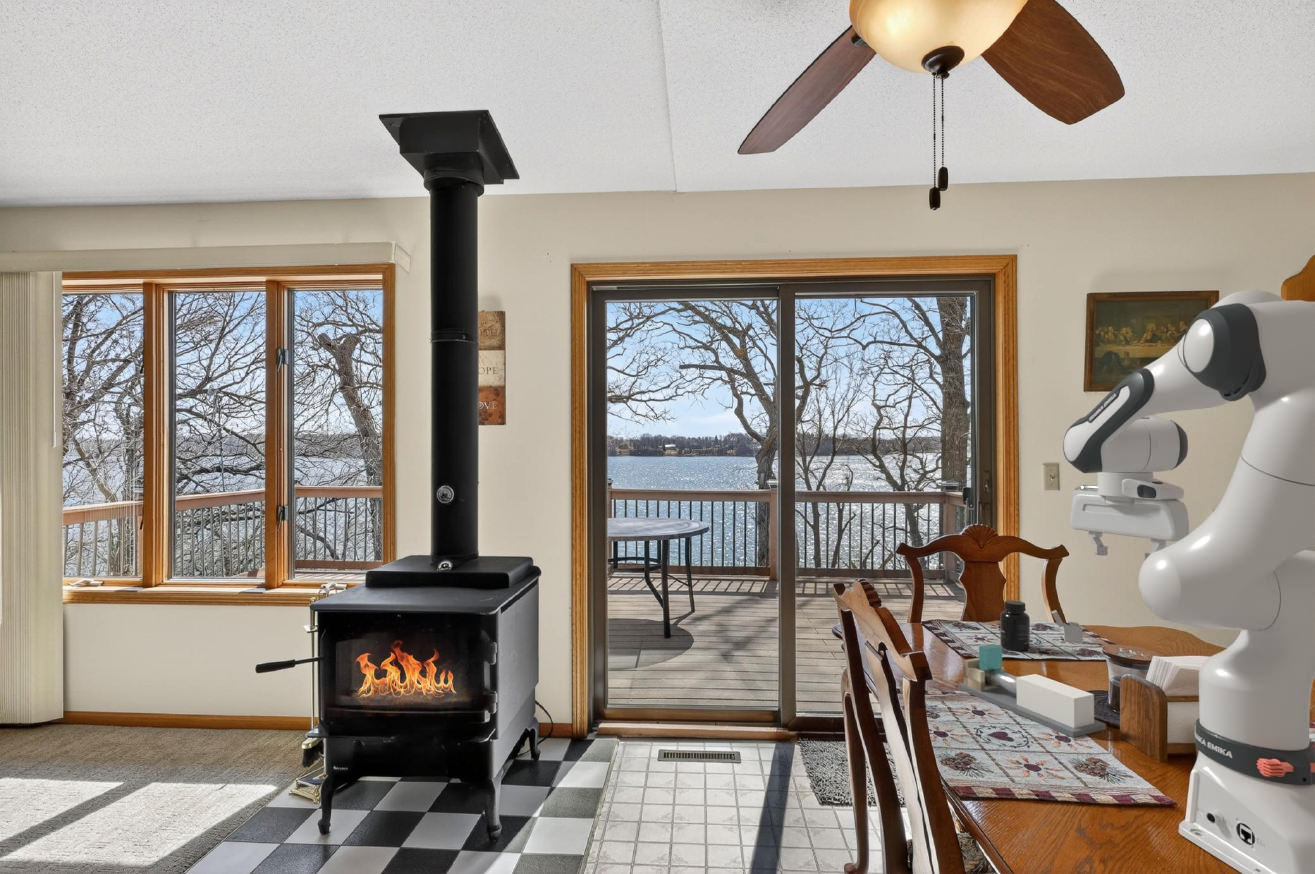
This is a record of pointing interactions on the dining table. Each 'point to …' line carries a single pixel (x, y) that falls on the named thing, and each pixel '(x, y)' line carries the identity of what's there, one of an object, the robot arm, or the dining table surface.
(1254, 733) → the robot arm
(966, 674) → the socket block
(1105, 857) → the dining table surface
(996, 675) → the slip tube
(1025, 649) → the supplement bottle
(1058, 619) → the lighter
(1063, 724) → the tube stand
